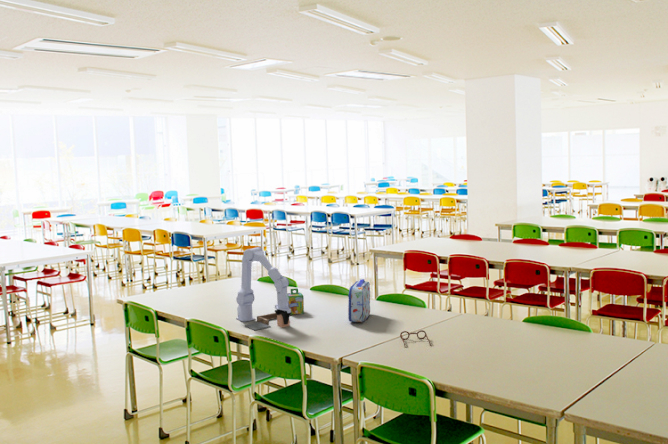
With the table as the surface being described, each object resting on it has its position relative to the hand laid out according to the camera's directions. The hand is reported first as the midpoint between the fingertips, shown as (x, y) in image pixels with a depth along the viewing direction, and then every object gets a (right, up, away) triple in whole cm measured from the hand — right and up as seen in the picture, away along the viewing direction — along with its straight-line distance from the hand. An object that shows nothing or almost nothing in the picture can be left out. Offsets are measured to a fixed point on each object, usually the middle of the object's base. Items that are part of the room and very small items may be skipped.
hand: (283, 323), depth 324 cm
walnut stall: (-7, -1, +10) cm, 12 cm away
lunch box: (+43, +1, +10) cm, 44 cm away
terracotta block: (0, -1, 0) cm, 2 cm away
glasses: (+69, -4, -39) cm, 79 cm away
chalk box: (+5, +1, +28) cm, 28 cm away
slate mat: (-14, -2, 0) cm, 14 cm away
